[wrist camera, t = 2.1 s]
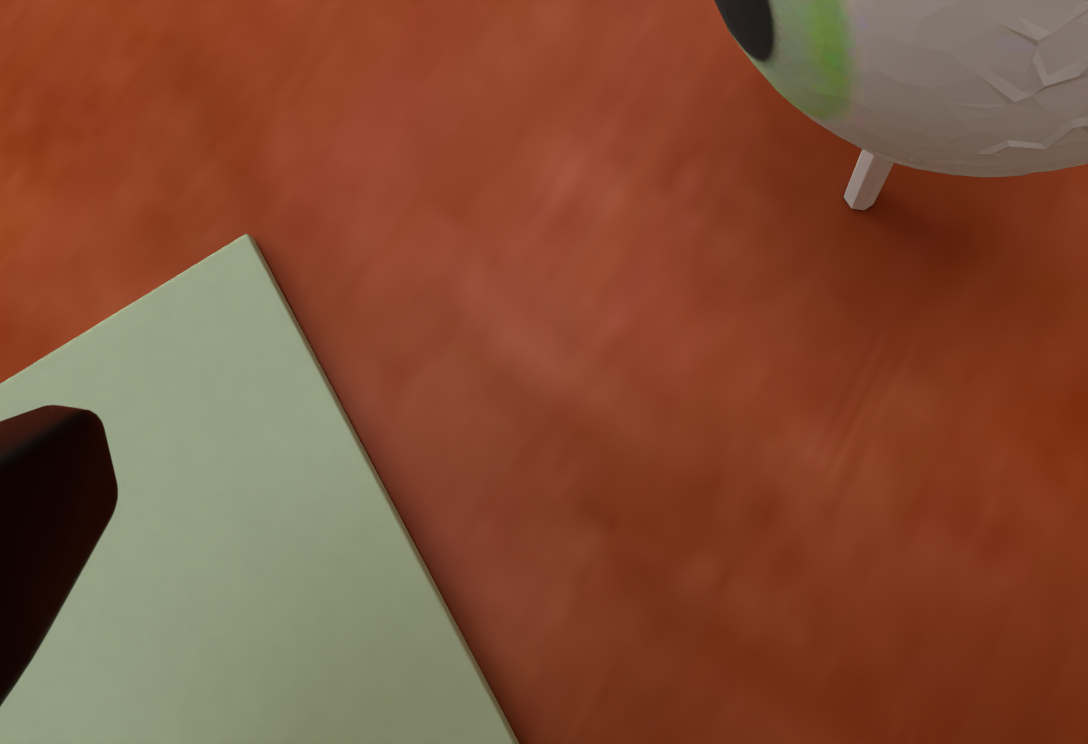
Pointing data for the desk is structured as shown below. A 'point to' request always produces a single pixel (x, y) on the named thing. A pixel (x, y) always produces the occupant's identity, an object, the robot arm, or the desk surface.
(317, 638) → the desk mat
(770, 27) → the lollipop
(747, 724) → the desk surface
